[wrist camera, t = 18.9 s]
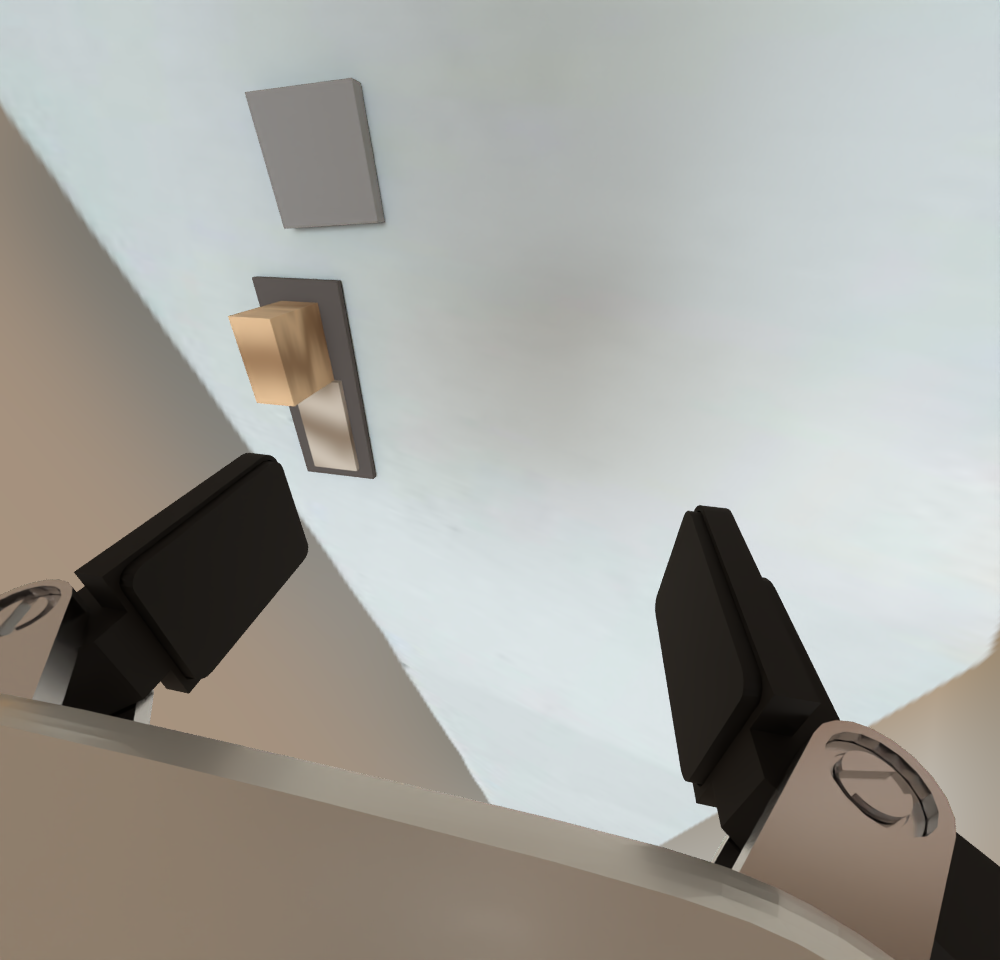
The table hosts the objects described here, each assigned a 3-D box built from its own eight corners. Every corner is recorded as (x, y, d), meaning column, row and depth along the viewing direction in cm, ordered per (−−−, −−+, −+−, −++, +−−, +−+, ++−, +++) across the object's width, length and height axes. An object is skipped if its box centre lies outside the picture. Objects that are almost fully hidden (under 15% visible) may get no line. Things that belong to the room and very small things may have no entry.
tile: (362, 84, 28) (260, 97, 29) (351, 77, 27) (244, 92, 28) (386, 222, 32) (296, 228, 34) (377, 222, 31) (284, 228, 32)
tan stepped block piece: (273, 300, 36) (219, 315, 31) (325, 303, 36) (278, 319, 30) (317, 463, 46) (281, 496, 40) (359, 468, 45) (328, 502, 40)
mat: (256, 276, 36) (251, 277, 36) (340, 280, 35) (336, 281, 34) (310, 468, 47) (307, 471, 47) (375, 476, 46) (373, 479, 45)
